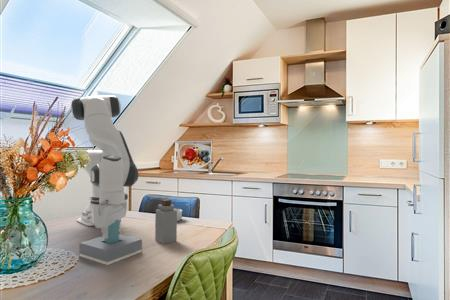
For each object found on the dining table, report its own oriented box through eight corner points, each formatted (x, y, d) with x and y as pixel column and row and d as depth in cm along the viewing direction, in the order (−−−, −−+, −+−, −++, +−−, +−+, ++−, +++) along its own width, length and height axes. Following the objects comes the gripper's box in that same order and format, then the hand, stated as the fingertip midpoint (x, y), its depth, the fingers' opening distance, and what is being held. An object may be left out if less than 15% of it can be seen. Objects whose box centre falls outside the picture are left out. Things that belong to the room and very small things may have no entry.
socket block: (79, 256, 115) (79, 242, 115) (114, 244, 129) (114, 232, 129) (107, 265, 107) (107, 250, 107) (141, 251, 120) (142, 239, 120)
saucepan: (182, 214, 188) (183, 205, 188) (182, 222, 168) (182, 212, 168) (163, 215, 186) (163, 205, 186) (160, 223, 167) (160, 212, 166)
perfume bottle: (155, 240, 136) (155, 199, 135) (168, 237, 140) (169, 198, 140) (162, 244, 130) (163, 201, 130) (176, 241, 135) (176, 200, 135)
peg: (104, 251, 118) (104, 219, 118) (114, 248, 121) (115, 218, 120) (108, 253, 115) (108, 221, 115) (118, 251, 118) (119, 220, 117)
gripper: (107, 203, 107) (107, 242, 107) (129, 194, 127) (129, 227, 127) (90, 202, 107) (89, 242, 107) (114, 193, 128) (114, 227, 128)
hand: (111, 234), depth 118 cm, fingers open, 8 cm apart
